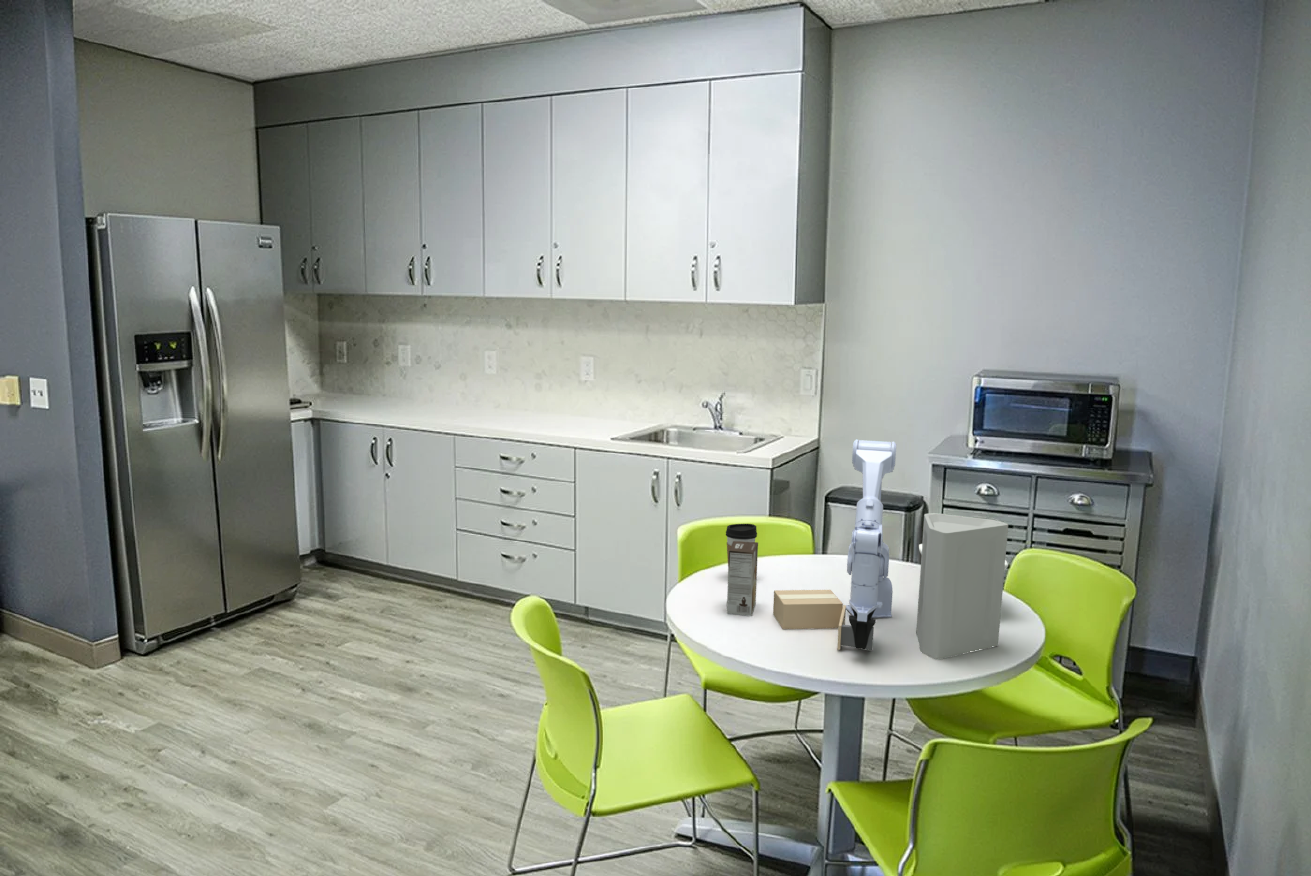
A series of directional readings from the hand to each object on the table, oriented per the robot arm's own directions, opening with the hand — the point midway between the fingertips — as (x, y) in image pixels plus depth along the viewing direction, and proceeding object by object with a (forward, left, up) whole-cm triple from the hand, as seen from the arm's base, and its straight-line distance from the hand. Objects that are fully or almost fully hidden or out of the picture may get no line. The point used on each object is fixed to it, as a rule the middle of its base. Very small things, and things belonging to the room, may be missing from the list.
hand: (861, 641), depth 203 cm
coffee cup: (+17, -50, -2) cm, 53 cm away
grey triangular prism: (-21, -4, -2) cm, 21 cm away
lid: (-1, -5, -2) cm, 5 cm away
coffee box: (+21, -27, -2) cm, 35 cm away
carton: (+7, -18, -2) cm, 20 cm away
